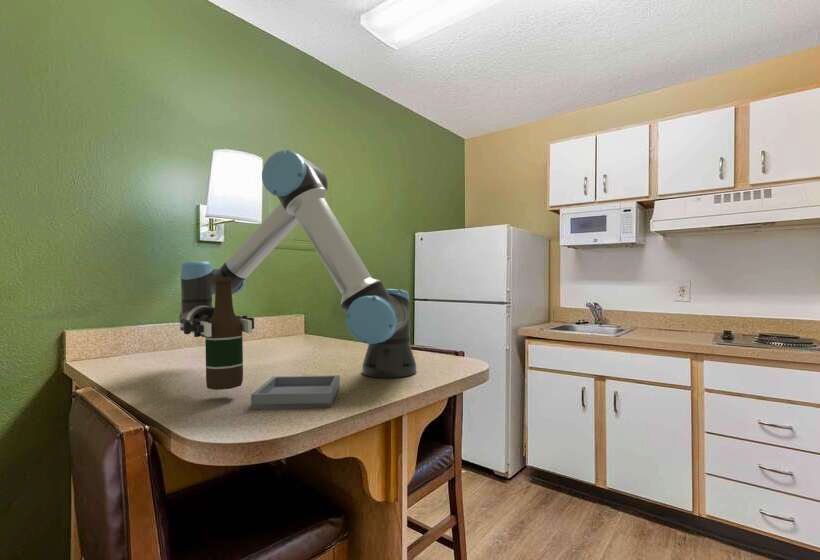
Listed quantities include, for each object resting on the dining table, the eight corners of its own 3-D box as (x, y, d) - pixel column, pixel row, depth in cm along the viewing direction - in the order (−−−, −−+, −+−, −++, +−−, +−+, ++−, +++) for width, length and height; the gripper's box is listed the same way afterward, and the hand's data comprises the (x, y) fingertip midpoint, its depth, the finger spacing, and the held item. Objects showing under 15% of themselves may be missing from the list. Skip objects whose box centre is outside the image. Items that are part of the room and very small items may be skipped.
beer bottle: (250, 381, 97) (248, 276, 97) (232, 390, 89) (231, 276, 89) (218, 381, 98) (216, 277, 98) (198, 390, 90) (196, 277, 90)
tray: (339, 387, 103) (339, 375, 103) (330, 407, 87) (330, 393, 87) (272, 388, 102) (272, 376, 102) (251, 409, 86) (251, 394, 86)
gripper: (246, 332, 114) (277, 341, 96) (159, 339, 101) (176, 351, 83) (246, 304, 114) (277, 308, 96) (159, 308, 101) (175, 313, 83)
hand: (230, 328), depth 90 cm, fingers closed on beer bottle, 7 cm apart
